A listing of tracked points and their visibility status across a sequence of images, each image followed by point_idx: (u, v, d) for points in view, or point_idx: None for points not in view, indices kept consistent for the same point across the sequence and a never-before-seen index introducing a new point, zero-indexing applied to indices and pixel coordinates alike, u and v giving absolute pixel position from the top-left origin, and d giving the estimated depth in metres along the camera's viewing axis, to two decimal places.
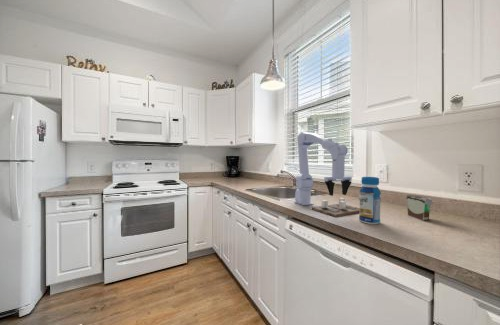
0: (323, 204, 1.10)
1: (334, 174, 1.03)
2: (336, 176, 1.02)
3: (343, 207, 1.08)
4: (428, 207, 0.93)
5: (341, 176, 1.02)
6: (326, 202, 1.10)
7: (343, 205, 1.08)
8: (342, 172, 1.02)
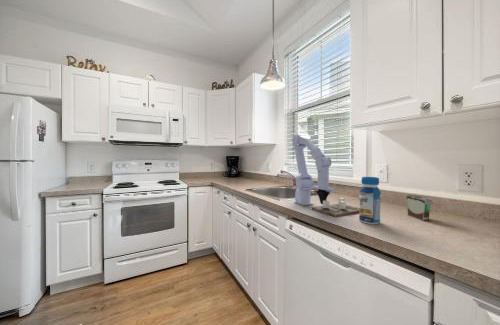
0: (324, 204, 1.10)
1: None
2: None
3: (343, 207, 1.08)
4: (428, 207, 0.93)
5: (318, 186, 1.11)
6: (327, 202, 1.10)
7: (343, 205, 1.08)
8: (319, 182, 1.11)
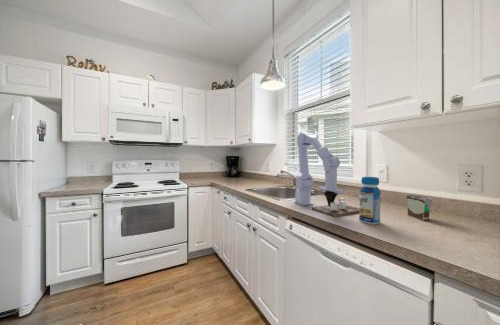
0: (332, 207, 1.05)
1: None
2: (325, 187, 1.09)
3: (343, 207, 1.08)
4: (428, 207, 0.93)
5: (326, 187, 1.06)
6: (335, 204, 1.05)
7: (343, 205, 1.08)
8: (327, 183, 1.06)
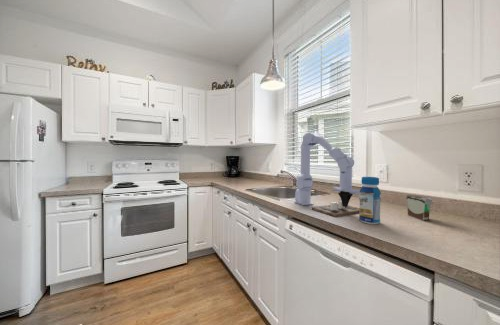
0: (332, 206, 1.05)
1: None
2: (339, 187, 1.08)
3: (342, 207, 1.08)
4: (428, 207, 0.93)
5: (341, 187, 1.06)
6: (335, 204, 1.05)
7: (342, 205, 1.08)
8: (342, 184, 1.05)
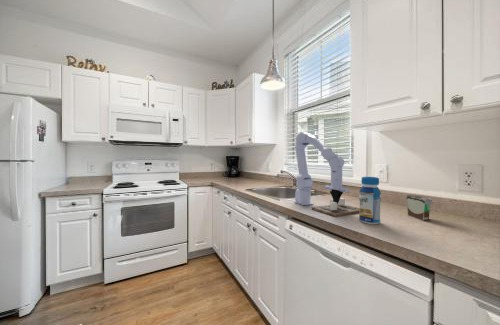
0: (332, 206, 1.05)
1: None
2: None
3: None
4: (428, 207, 0.93)
5: (332, 186, 1.11)
6: (335, 204, 1.05)
7: None
8: (333, 182, 1.11)
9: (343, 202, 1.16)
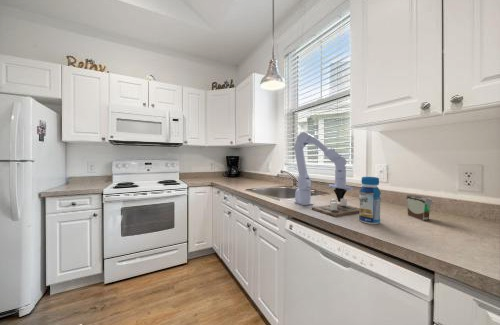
0: (332, 206, 1.05)
1: None
2: None
3: None
4: (428, 207, 0.93)
5: (336, 185, 1.16)
6: (335, 204, 1.05)
7: None
8: (337, 181, 1.16)
9: (345, 202, 1.15)
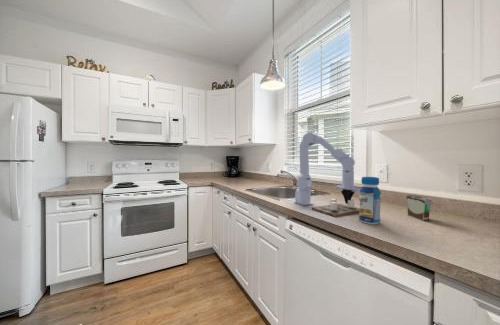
0: (332, 206, 1.05)
1: None
2: (342, 185, 1.14)
3: None
4: (428, 207, 0.93)
5: (344, 186, 1.12)
6: (335, 204, 1.05)
7: None
8: (345, 182, 1.12)
9: (353, 204, 1.11)
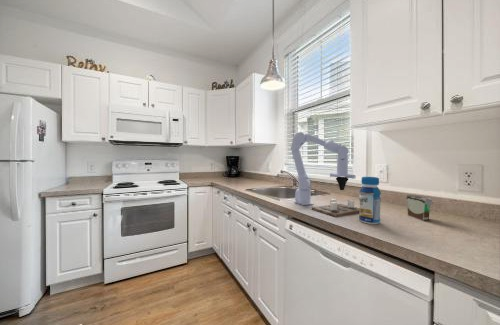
0: (332, 206, 1.05)
1: None
2: None
3: None
4: (428, 207, 0.93)
5: (339, 173, 1.18)
6: (335, 204, 1.05)
7: None
8: (340, 170, 1.17)
9: (352, 204, 1.11)
